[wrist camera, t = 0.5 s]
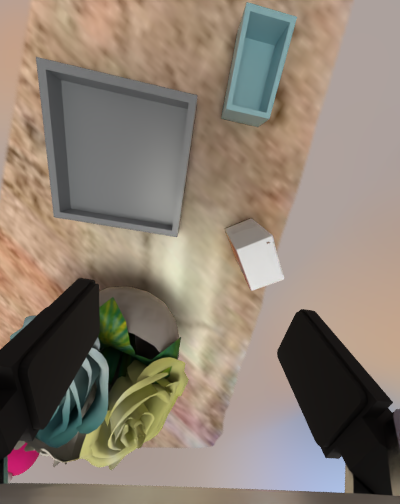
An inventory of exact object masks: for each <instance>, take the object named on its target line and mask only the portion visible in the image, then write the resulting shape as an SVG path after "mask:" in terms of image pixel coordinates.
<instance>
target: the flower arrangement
mask: <svg viewBox="0 0 400 504" xmlns="http://www.w3.org/2000/svg"><path fill="white" fill-rule="evenodd" d="M99 313H100V332H99V335H98V338H97V339H96V341H95V343H94V345H93V346H92V348H91V350H90V352H89V353H88V355H87V357H86V359H85V360H84V362H83V364H82V366H81V367H80V369H79V371H78V373H77V374H76V376H75V378H74V380H73V381H72V383H71V385H70V387H69V388H68V390H67V392H66V394H65V395H64V397H63V399H62V401H61V402H60V404H59V406H58V408H57V409H56V411H55V413H54V415H53V416H52V418H51V420H50V422H49V423H48V425H47V426H46V427H45V428H44V429H43V430H39V431H38V433H37V435H36V436H35V438H34V440H33V441H18V442H17V444H16V446H15V447H14V450H18V449H19V448H21V447H22V446H23V445H24V444H25V443H28V444H27V445H26V447H25V449H24V450H25V451H26V452H27V451H32V450H36V451H37V452H38V453H40V455H41V456H51V457H52V458H53V459H54V464H53V467H55V466H56V465H57V464H58V463H60V462H62V463H64V462H65V464H67V462H70V461H75V460H78V459H81V458H82V459H85V460H87V461H89V462H90V463H91V464H92V465H94V466H96V467H104V466H108V465H109V469H110V470H112V469H114V468H115V467H116V466H117V464H118V463H119V462H120V461H121V460H122V459H123V458H124V457H125V455H127V454H128V453H130V452H132V451H133V450H135V449H136V448H141V446H142V444H143V443H144V442H146V441H148V440H150V439H152V438H153V437H155V436H156V435H157V434H158V433H159V431H160V430H161V429H162V427H163V425H164V423H165V421H166V418H167V416H168V414H169V412H170V410H171V409H172V407H173V405H174V404H175V402H176V400H177V398H178V396H181V395H182V393H183V391H184V389H185V386H186V385H187V382H188V378H187V376H186V374H185V372H184V369H185V363H184V362H183V361H179V360H178V357H179V346H180V340H181V337H180V338H179V336H178V328H177V324H176V321H175V318H174V316H173V314H172V313H171V311H170V310H169V308H168V307H167V305H166V304H165V303H164V302H163V301H161V300H160V299H159V298H157V297H156V296H154V295H153V294H151V293H150V292H147V291H144V290H140V289H137V288H133V287H129V286H124V287H108V288H105V289H103V290H101V291H99ZM35 317H36V316H29V317H27V318H25V321H24V325H23V327H22V328H21V329H20V330H18V331H17V332H15V333H14V334H12V335H11V336H10V340H11V339H12V338H14V337H15V336H16V335H17V334H18V333H19V332H20V331H21V330H22V329H23V328H24V327H25V326H26V325H27V324H29V323H30V322H31V321H32V320H33V319H34V318H35Z"/></svg>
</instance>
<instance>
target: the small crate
mask: <svg viewBox="0 0 400 504" xmlns="http://www.w3.org/2000/svg"><path fill="white" fill-rule="evenodd" d="M296 19H297V17H296V16H292V15H289V14H285V13H282V12H279V11H275V10H272V9H268V8H265V7H262V6H258V5H255V4H251V3H248V2H247V3H246V6H245V10H244V13H243V16H242V19H241V22H240V25H239V29H238V32H237V37H236V42H235V47H234V53H233V58H232V63H231V69H230V74H229V79H228V84H227V90H226V95H225V100H224V106H223V111H222V116H221V119H225V120H229V121H234V122H238V123H243V124H247V125H251V126H256V127H259V126H260V125H261V124H263V123H264V122H266V121H267V120H269V118H270V115H271V111H272V107H273V104H274V100H275V96H276V93H277V89H278V85H279V82H280V78H281V74H282V70H283V67H284V63H285V59H286V56H287V52H288V48H289V45H290V41H291V37H292V33H293V30H294V26H295V22H296Z"/></svg>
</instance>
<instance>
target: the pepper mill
mask: <svg viewBox="0 0 400 504" xmlns="http://www.w3.org/2000/svg"><path fill="white" fill-rule="evenodd" d="M27 444H28V443H25V444H24V445H23V446H22V447H21V448H19V449H18V450H14V449H13V450H12V452H11V453H10V454H9V455H8V483H10V481H11V479H12V476H15V475H19V474H21V473H23V472H25V471H26V470H27V469H29V468H30V467H31V466H32V465H33V463H34V462H35V461H36V459H37V457H38V455H39V453H38V452H37V451H36V450H32V451H27V452H26V451H25V450H24V449H25V447H26V445H27Z"/></svg>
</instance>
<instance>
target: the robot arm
mask: <svg viewBox="0 0 400 504" xmlns="http://www.w3.org/2000/svg"><path fill="white" fill-rule="evenodd" d="M99 332H100V313H99V285H98V284H95V281H94V280H91V279H83V278H79V279H77V280H76V281H75V282H74V283H73V284H72V285H71V286H70V287H69V288H68V289H67V290H66V291H65V292H64V293H63V294H62V295H60V296H59V297H58V298H57V299H56V300H55V301H54V302H53V303H52V304H51V305H50V306H49V307H47V308H45V309H44V310H43V311H41V312H40V313H39V314H38V315H37V316H36V317H35V318H34V319H33V320H32V321H31V322H30V323H29V324H27V325H26V326H25V327H24V328H23V329H22V330H21V331H20V332H19V333H18V334H17V335H16V336H15V337H14V338H12V339H11V340H10V341H9V342H8V343H7V344H6V345H5V346H4V347H3V348H2V349H1V350H0V504H400V409H396V410H395V411H394V412H393V413H392V412H391V411H390V410H389V409H388V407H389V406H390V405H391V404H392V403H393V402H392V401H391V400H390V398H389V397H388V396H387V395H386V394H385V392H384V391H383V390H382V389H381V388H380V387H379V385H378V384H377V383H376V382H375V381H374V380H373V378H372V377H371V376H370V375H369V374H368V373H367V372H366V370H365V369H364V368H363V367H362V366H361V364H360V363H359V362H358V361H357V360H356V359H355V357H354V356H353V355H352V354H351V353H350V352H349V350H348V349H347V348H346V347H345V346H344V345H343V343H342V342H341V341H340V340H339V339H338V338H337V336H336V335H335V334H334V333H333V332H332V331H331V329H330V328H329V327H328V326H327V325H326V324H325V322H324V321H323V320H322V319H321V318H320V317H319V315H318V314H317V313H316V312H315V311H311V310H304V309H303V310H302V309H301V310H300V311H299V312H297V313H296V314H295V316H294V318H293V320H292V322H291V324H290V326H289V328H288V330H287V332H286V334H285V337H284V338H283V340H282V342H281V345H280V347H279V349H278V352H277V355H278V359H279V361H280V363H281V366H282V368H283V370H284V372H285V375H286V377H287V379H288V381H289V384H290V386H291V388H292V390H293V392H294V394H295V397H296V399H297V401H298V403H299V406H300V408H301V410H302V413H303V415H304V417H305V419H306V421H307V424H308V426H309V428H310V430H311V433H312V435H313V437H314V439H315V441H316V443H317V444H318V445H319V446H320V447H321V449H322V451H323V453H324V455H325V457H326V458H337V459H338V458H340V457H341V456H342V457H343V459H344V461H345V463H346V466H345V470H346V471H345V493H332V492H309V491H285V490H258V489H229V488H202V487H171V486H137V485H105V484H104V485H102V484H41V483H39V484H37V483H36V484H35V483H8V455H9V454H10V453H11V452H12V450H13V449H14V447H15V446H16V444H17V442H18V441H33V440H34V438H35V436H36V435H37V433H38V431H39V430H43V429H44V428H45V427H46V426H47V425H48V423H49V422H50V420H51V418H52V416H53V415H54V413H55V411H56V409H57V408H58V406H59V404H60V402H61V401H62V399H63V397H64V395H65V394H66V392H67V390H68V388H69V387H70V385H71V383H72V381H73V380H74V378H75V376H76V374H77V373H78V371H79V369H80V367H81V366H82V364H83V362H84V360H85V359H86V357H87V355H88V353H89V352H90V350H91V348H92V346H93V345H94V343H95V341H96V339H97V338H98V335H99Z"/></svg>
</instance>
